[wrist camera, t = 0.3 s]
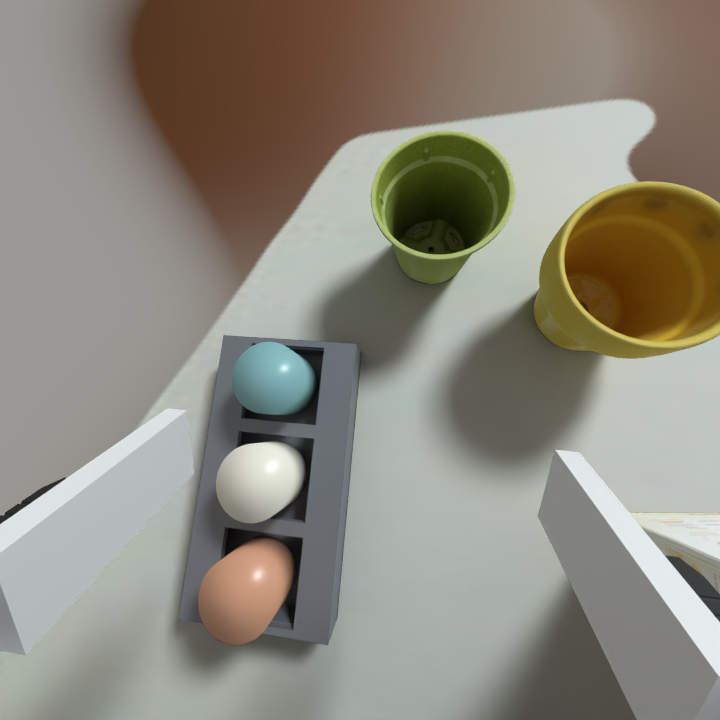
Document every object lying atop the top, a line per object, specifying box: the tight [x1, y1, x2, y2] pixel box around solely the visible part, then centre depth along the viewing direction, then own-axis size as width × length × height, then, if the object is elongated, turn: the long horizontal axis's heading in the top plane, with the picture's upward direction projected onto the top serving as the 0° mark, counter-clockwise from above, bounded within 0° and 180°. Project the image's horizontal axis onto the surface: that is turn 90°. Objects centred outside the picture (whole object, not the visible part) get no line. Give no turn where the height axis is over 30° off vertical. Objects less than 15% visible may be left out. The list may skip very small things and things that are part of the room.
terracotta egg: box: [198, 535, 296, 645], centre depth 24 cm, size 5×5×4 cm
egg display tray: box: [178, 335, 361, 645], centre depth 28 cm, size 21×11×4 cm, turn 175°
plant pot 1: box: [371, 131, 515, 284], centre depth 28 cm, size 9×9×9 cm
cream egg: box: [216, 441, 307, 523], centre depth 26 cm, size 5×5×4 cm
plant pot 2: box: [534, 182, 720, 358], centre depth 25 cm, size 10×10×10 cm
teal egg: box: [232, 342, 317, 416], centre depth 27 cm, size 5×5×4 cm
